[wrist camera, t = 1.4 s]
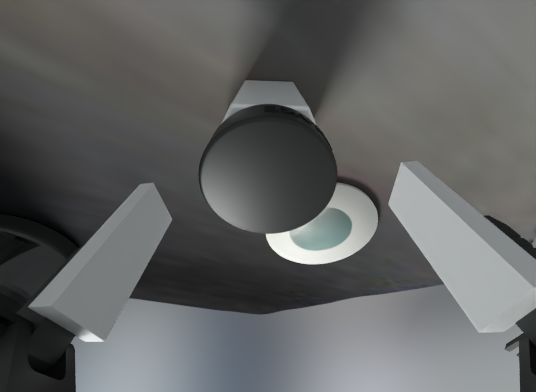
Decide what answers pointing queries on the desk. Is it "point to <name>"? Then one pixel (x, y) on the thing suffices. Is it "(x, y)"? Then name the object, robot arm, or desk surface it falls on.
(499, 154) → the desk surface
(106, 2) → the desk surface
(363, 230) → the plate
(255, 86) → the jar
